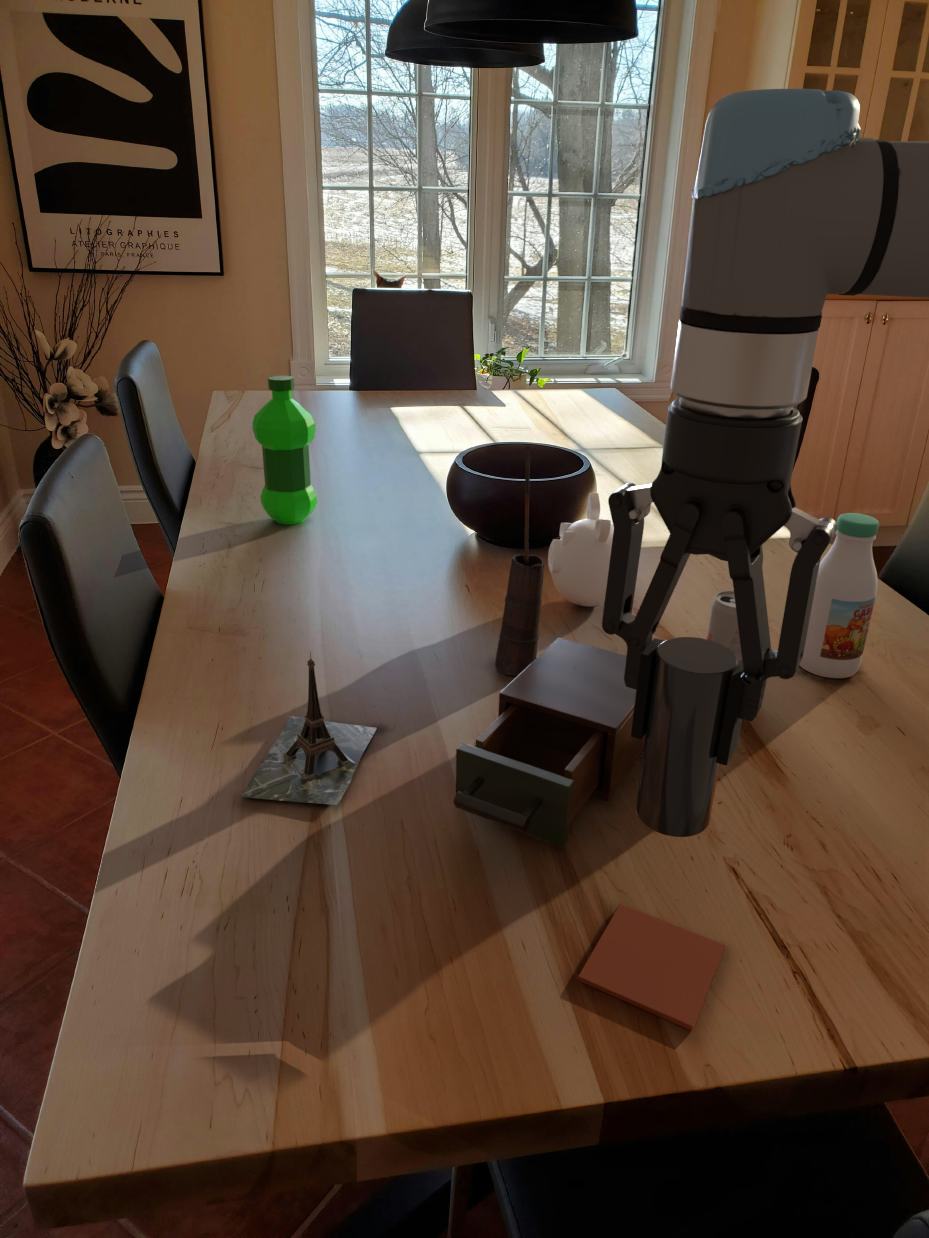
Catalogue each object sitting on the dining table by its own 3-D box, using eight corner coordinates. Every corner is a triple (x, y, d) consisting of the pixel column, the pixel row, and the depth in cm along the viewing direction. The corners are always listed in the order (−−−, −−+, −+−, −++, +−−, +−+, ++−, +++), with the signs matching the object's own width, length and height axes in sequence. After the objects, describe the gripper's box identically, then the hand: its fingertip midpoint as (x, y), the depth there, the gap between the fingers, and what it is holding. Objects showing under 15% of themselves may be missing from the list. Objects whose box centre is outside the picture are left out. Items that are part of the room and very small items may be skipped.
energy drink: (706, 673, 113) (720, 586, 108) (749, 684, 111) (765, 596, 106) (693, 691, 109) (707, 602, 104) (738, 704, 107) (754, 613, 101)
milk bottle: (791, 671, 114) (821, 522, 105) (798, 646, 120) (827, 504, 112) (856, 685, 111) (892, 533, 102) (860, 659, 117) (895, 513, 109)
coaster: (725, 949, 72) (726, 944, 72) (692, 1031, 65) (692, 1026, 65) (619, 907, 76) (620, 903, 76) (577, 980, 69) (577, 975, 69)
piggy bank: (531, 591, 135) (536, 495, 128) (602, 582, 138) (610, 489, 132) (564, 626, 124) (572, 524, 118) (640, 616, 128) (652, 516, 121)
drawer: (543, 875, 78) (548, 812, 75) (432, 831, 83) (432, 771, 80) (617, 772, 92) (623, 716, 89) (517, 740, 97) (520, 686, 94)
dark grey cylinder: (718, 806, 65) (746, 648, 60) (697, 847, 61) (725, 681, 56) (649, 783, 68) (670, 629, 62) (625, 821, 64) (645, 660, 58)
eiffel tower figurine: (289, 719, 102) (281, 612, 96) (377, 727, 100) (374, 620, 95) (241, 800, 88) (227, 682, 82) (341, 811, 87) (335, 692, 81)
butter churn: (564, 688, 109) (582, 464, 97) (486, 690, 108) (494, 464, 96) (552, 652, 117) (567, 441, 105) (479, 653, 117) (486, 441, 104)
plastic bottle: (327, 512, 165) (320, 374, 154) (305, 532, 155) (296, 386, 145) (276, 507, 167) (266, 370, 156) (251, 526, 157) (238, 381, 147)
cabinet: (608, 801, 89) (616, 728, 85) (496, 763, 95) (499, 692, 91) (656, 732, 101) (665, 665, 97) (553, 701, 106) (558, 637, 102)
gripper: (915, 410, 51) (832, 754, 61) (610, 373, 59) (582, 682, 69) (899, 439, 45) (810, 814, 55) (563, 393, 53) (540, 728, 63)
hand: (683, 740), depth 62 cm, fingers closed on dark grey cylinder, 5 cm apart
